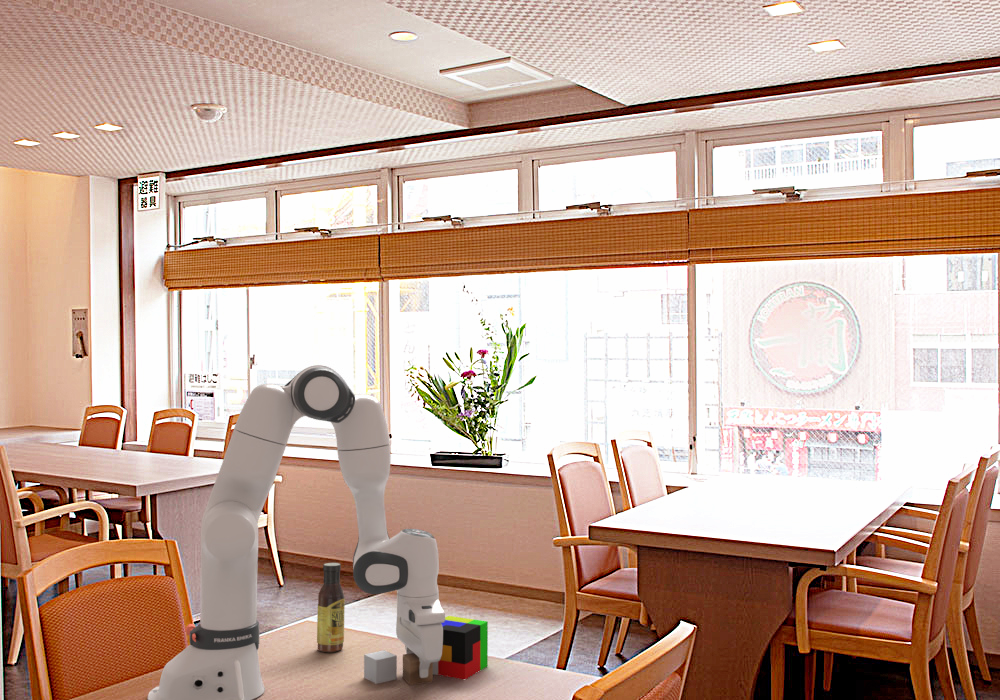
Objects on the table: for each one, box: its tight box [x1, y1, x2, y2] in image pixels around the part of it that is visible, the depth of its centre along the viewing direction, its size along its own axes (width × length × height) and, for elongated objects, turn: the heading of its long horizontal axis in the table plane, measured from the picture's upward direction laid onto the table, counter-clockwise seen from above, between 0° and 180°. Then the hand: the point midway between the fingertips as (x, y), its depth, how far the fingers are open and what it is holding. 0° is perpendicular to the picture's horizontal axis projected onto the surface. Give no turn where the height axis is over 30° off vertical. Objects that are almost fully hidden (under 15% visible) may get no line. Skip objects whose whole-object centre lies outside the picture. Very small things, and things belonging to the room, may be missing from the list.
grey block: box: [363, 649, 398, 685], centre depth 202 cm, size 5×5×5 cm
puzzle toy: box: [433, 615, 489, 680], centre depth 208 cm, size 10×10×10 cm
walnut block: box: [402, 653, 434, 686], centre depth 201 cm, size 5×5×5 cm
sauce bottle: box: [316, 562, 346, 653], centre depth 222 cm, size 6×6×20 cm
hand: (417, 671), depth 201 cm, fingers open, 6 cm apart
